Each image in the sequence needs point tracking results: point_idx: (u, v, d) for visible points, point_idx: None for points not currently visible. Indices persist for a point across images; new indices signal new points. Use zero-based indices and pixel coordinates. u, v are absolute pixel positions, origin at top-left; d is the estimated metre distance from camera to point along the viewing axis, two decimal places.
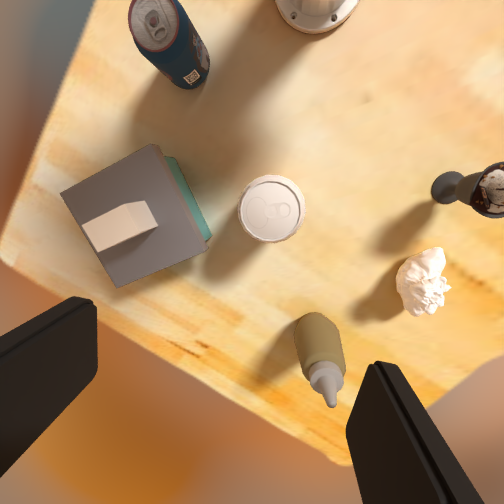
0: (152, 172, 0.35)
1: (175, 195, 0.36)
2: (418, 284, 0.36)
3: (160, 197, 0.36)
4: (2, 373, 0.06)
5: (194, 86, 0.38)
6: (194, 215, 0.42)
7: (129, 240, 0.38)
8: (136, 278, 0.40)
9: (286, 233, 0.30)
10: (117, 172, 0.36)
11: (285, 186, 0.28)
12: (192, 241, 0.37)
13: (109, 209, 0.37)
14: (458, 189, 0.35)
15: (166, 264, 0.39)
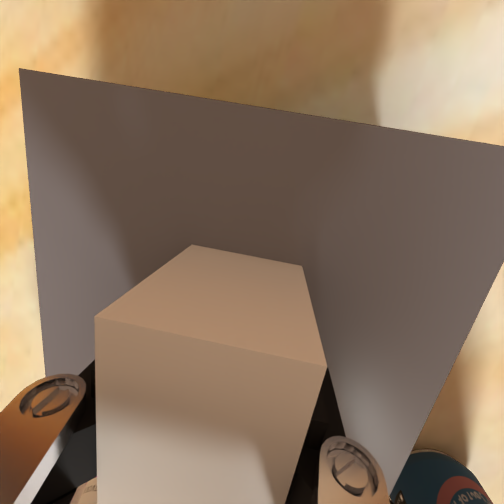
0: None
1: None
2: None
3: None
4: None
5: None
6: None
7: None
8: (36, 198, 0.09)
9: None
10: (396, 412, 0.10)
11: None
12: None
13: (323, 304, 0.09)
14: None
15: (51, 333, 0.11)
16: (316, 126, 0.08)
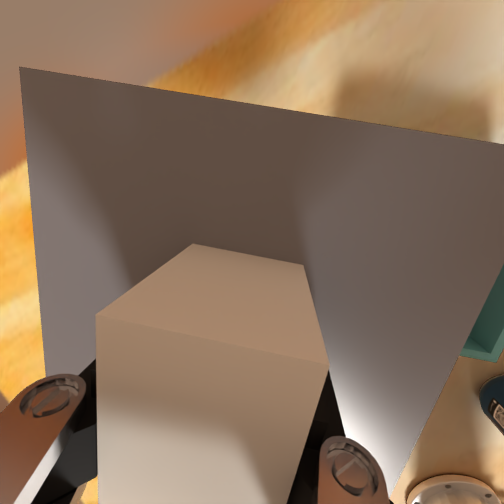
0: None
1: None
2: None
3: None
4: None
5: (487, 395, 0.31)
6: None
7: None
8: (36, 197, 0.09)
9: None
10: (397, 411, 0.10)
11: None
12: None
13: (324, 303, 0.09)
14: None
15: (51, 333, 0.11)
16: (317, 125, 0.08)
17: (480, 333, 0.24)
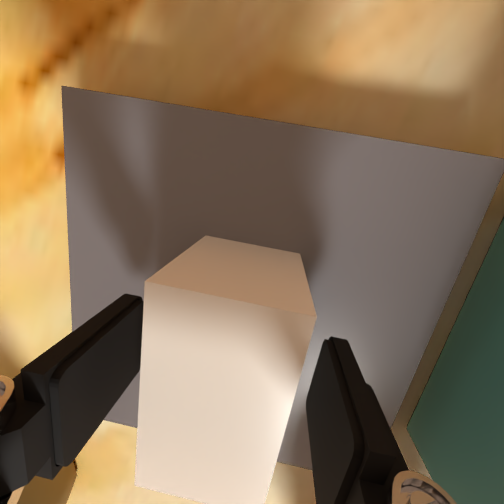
0: None
1: None
2: None
3: None
4: (84, 361, 0.06)
5: None
6: None
7: None
8: (71, 195, 0.11)
9: None
10: (381, 382, 0.12)
11: None
12: (111, 409, 0.14)
13: (318, 286, 0.11)
14: None
15: (80, 315, 0.12)
16: (312, 135, 0.09)
17: None
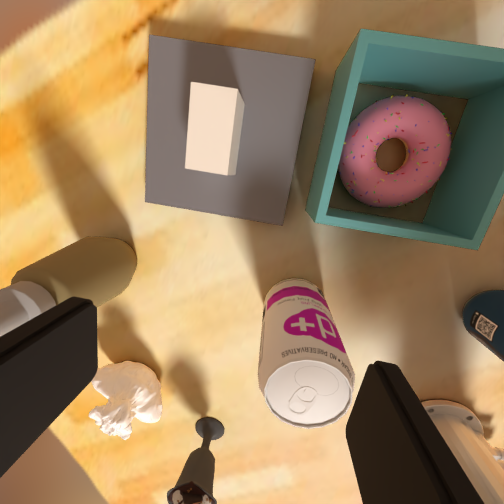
0: (256, 206, 0.29)
1: (219, 213, 0.29)
2: (129, 414, 0.32)
3: (227, 195, 0.29)
4: (2, 373, 0.06)
5: (470, 310, 0.31)
6: None
7: None
8: (150, 82, 0.26)
9: (268, 393, 0.21)
10: (282, 166, 0.27)
11: (323, 421, 0.21)
12: (162, 196, 0.29)
13: (252, 119, 0.26)
14: (207, 457, 0.37)
15: (150, 143, 0.28)
16: (245, 52, 0.25)
17: (463, 225, 0.24)
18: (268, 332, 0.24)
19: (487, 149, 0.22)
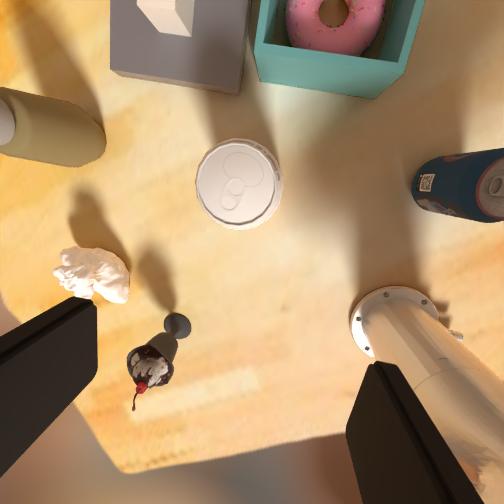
0: (211, 69, 0.31)
1: (178, 78, 0.32)
2: (91, 274, 0.33)
3: (185, 59, 0.31)
4: (2, 373, 0.06)
5: (416, 177, 0.32)
6: (296, 75, 0.29)
7: None
8: None
9: (200, 188, 0.22)
10: (234, 25, 0.29)
11: (252, 219, 0.23)
12: (126, 63, 0.32)
13: None
14: (169, 337, 0.38)
15: (113, 7, 0.30)
16: None
17: (393, 59, 0.25)
18: None
19: None
